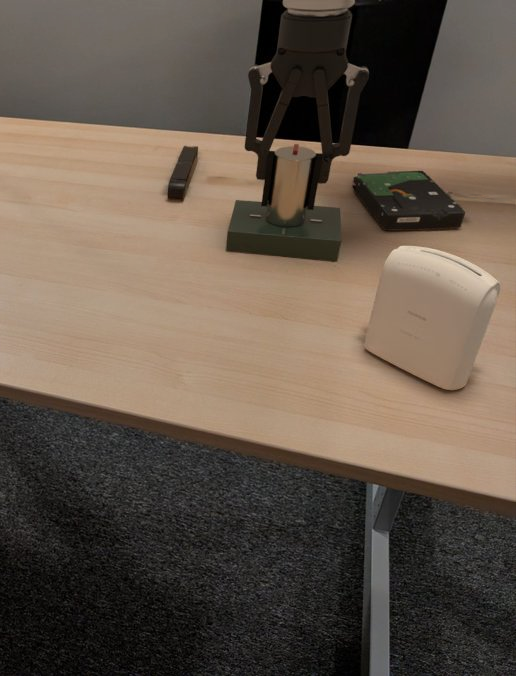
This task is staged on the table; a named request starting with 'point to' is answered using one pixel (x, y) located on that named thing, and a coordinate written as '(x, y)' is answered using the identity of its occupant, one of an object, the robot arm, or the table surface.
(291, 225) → the dial
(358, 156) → the table surface
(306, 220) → the green base plate
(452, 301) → the photo printer
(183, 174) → the black bar
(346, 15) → the robot arm
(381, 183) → the disk drive
